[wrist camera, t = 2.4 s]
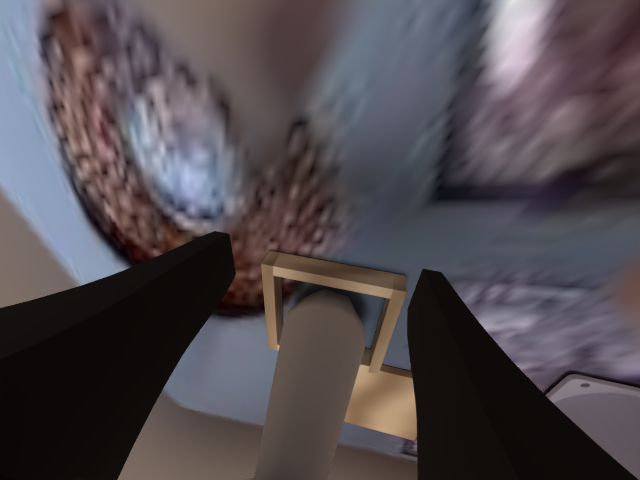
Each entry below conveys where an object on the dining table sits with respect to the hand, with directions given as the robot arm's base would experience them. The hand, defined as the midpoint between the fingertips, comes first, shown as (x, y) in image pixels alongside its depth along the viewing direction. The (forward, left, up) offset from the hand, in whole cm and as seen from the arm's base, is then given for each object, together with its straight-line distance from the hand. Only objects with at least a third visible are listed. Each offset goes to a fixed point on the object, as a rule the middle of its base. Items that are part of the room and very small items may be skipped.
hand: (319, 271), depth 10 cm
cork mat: (-5, +20, -6) cm, 22 cm away
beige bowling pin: (0, +9, -6) cm, 11 cm away
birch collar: (0, +9, -6) cm, 11 cm away
